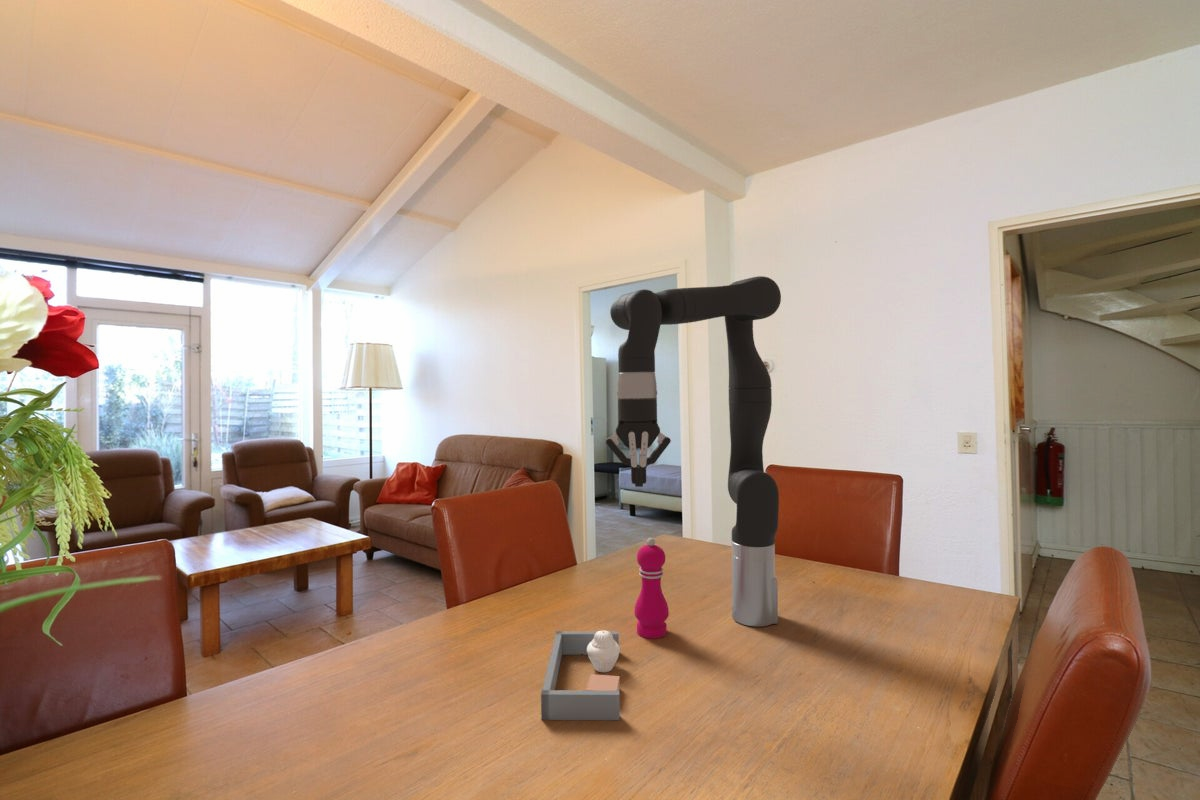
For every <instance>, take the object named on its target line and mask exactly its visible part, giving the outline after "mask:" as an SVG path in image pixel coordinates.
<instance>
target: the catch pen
mask: <svg viewBox="0 0 1200 800" xmlns="http://www.w3.org/2000/svg"><path fill="white" fill-rule="evenodd" d="M598 631H599V630H598ZM598 631H596V630H595V631H589V630H588V631H584V630H583V631H577V630H576V631H574V630H573V631H572V630H571V631H567V630H566V631H563V630H562V631H559V630H558V631H555V636H554V639H553V644H552V648H551V652H550V657H549V660H548V665H547V668H546V672H545V677H544V680H543V685H542V688H541V694H540V701H541V702H540V703H541V704H540V706H541V707H540V711H541V712H540V715H541V716H540V717H541V719H540V720H542V721H543V720H544V721H545V720H546V721H553V720H554V721H621V720H620V719H621V718H620V717H621V714H620V713H621V712H620V709H621V707H620V704H621V703H620V702H621V701H620V694H621V693H620V690H619V691H600V690H586V689H584V690H581V689H579V690H576V689H575V690H574V689H573V690H571V689H570V690H569V689H565V690H563V689H562V690H561V689H558V690H556V687H557V681H558V678H559V677H558V676H559V671H560V666H561V662H562V657H563V655H565V656H566V655H567V656H575V655H579V656H580V655H581V654H583V655H585V656H586V655H587V656H589V655H588V654H587V646H588V644H589V643H590V642H591V641H592V640H593V639H594V635H595V634H596V632H598ZM609 632H610V633H611V634H612V635H613V639H614V640H615V642H616V643H617V644H618V645H619V644H620V640H619V638H620V637H619V633H620V632H619V631H609ZM619 646H620V645H619ZM583 655H582V656H583Z"/></svg>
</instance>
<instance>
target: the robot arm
mask: <svg viewBox="0 0 1200 800" xmlns="http://www.w3.org/2000/svg"><path fill="white" fill-rule="evenodd" d="M781 301H782V295H781V290H780V287H779V285H778V284H777V282H776V281H774V280H773V279H772V278H770V277H768V276H761V275H760V276H753V277H749V278H744V279H741V280H737V281H734V282H732V283H730V284H727V285H721V286H717V285H716V286H700V287H682V288H671V289H670V288H667V289H665V290H661V291H657V292H653V291H652V290H650V289H639V290H636V291H631V292H628V293H625V294H621V295H619V296H618V297H616V298H615V300H614V301H613V302H612V303H611V306H610V310H609V311H610V312H609V313H610V318H611V320H612V322H613V324H614V325H615V326H617V327H618V328H620V329H622V330H625V331H628V335H627V339H626V340H625V341H623V342H622V343H621V344H620V345H619V347H618V351H617V352H618V355H617V356H618V364H617V365H618V376H617V377H618V378H617V392H616V394H617V395H616V396H617V426H616V428H615V433H614V434H612V435H611V436H609V437H606V439H605V444H606V445H607V447H609V448H610V450H611V451H612V452H613V453H614V455H615V456H616V457H617V458H618V460H619V461H620V462H621V463H622V464H623V465H627V466H629V467H630V475H631V476H630V479H631V483H632V485H634V487H638V488H640V487H641V488H643V487H644V484H646V483H647V467H648V466H650V465H653V464H656V462H657V461H658V460H659V458H660V457H661V455H662V454H663V453H664V451H665V450H666V449H667V447H668V446H669V445H670V444H671V442H672V440H671V438H670V437H668V436H666V435H665V434H664V433H662V432H661V427H660V426H659V423H658V397H657V396H658V389H657V388H658V387H657V380H656V379H657V378H656V355H655V354H656V353H655V351H656V346H657V342H658V340H659V338H658V337H659V333H660V330H661V329H660V328H661V325H665V326H667V325H668V326H669V325H670V326H671V325H681V324H682V325H683V324H689V323H696V322H702V321H705V320H706V321H707V320H711V319H716V318H721V317H724V323H725V332H726V339H727V357H728V358H727V359H728V363H727V364H728V408H729V409H728V410H729V414H728V415H729V435H730V436H729V437H730V453H729V454H730V455H729V456H730V457H729V467H728V475H727V476H728V478H727V491H728V493H729V497H730V499H731V500H732V502H733V503H734V504H736V521H735V525H733V527H732V529H731V617H732V619H733V620H734V621H735V622H737V623H738V624H741V625H744V626H748V627H758V628H759V627H767V626H770V625H773V624H779V618H778V617H779V613H778V612H779V605H778V604H779V600H778V599H779V597H778V595H779V593H778V592H779V591H778V590H779V589H778V588H779V587H778V586H779V584H778V583H779V582H778V578H777V577H776V574H775V573H776V572H775V571H776V566H775V565H776V562H775V561H776V559H775V558H776V557H775V556H776V554H775V553H776V550H775V549H776V545H775V544H776V543H775V541H776V535H777V532H778V527H779V513H780V512H779V510H780V494H779V493H780V492H779V488H778V484H777V482H776V480H775V479H774V477H772V476H771V475H770V474H769V473H766V472H765V470H764V469H765V468H764V459H763V458H764V457H763V449H764V445H763V444H764V439H765V435H766V432H767V428H768V425H769V422H770V418H771V413H772V407H773V405H772V401H773V400H772V399H773V398H772V379H771V375H770V373H769V370H768V369H767V366H766V365H765V362H763V361H764V360H762V358H761V356H760V354H759V352H758V350H757V348H756V345H755V338H754V321H757V320H763V319H766V318H769V317H770V316H773V315H774V314H775V313H776V312H777V311H778V309H779V307H780V305H781ZM618 439H619V440H620V441H621V442H622V444H623V445H624V446H625V448H627V449H628V450H629V451H628V452H629V457H627V456H626V455H625V453H624V452H623V451H622V450H621V448H620V447H619V446H618V445H619V443H620V442H619V440H618ZM656 439H657V441H656V443H657V446H656V447H655V449H654V450H653V451H652V453H651V454H650V455H649V456H648V449H649V448H650V447H651V446H652V445H653V443H654V442H655V440H656ZM637 449H639V457H637V455H638V454H637ZM647 456H648V457H647ZM638 458H639V459H638ZM638 460H639V461H638ZM638 462H639V466H638Z"/></svg>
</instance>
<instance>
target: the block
mask: <svg viewBox="0 0 1200 800" xmlns="http://www.w3.org/2000/svg"><path fill="white" fill-rule="evenodd" d="M620 678H621V676H620V675H619V676H618V675H608V674H592V673H591V674H590V676H589V678H588V682H587V685H586V688H585V690H600V691H619V692H620V683H621V682H620Z"/></svg>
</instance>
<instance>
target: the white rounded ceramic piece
mask: <svg viewBox="0 0 1200 800" xmlns="http://www.w3.org/2000/svg"><path fill="white" fill-rule="evenodd" d="M610 632H611V631H610V630H605V629H603V630H598V632H596V634H595V635H594V639H593V640H592V641H591V642H590V643H589V644H588V646H587V654H588V655H587V656H588V659H589V660H590V663H591V664H592V666H593V669H594V670H595V671H596V672H599V673H609V672H610V671H612V670H613V669H614V667H615V666H614V665H616V662H617V661H618V659H619V655H620V653H621V647H620V645H618V644H617V643H616V642H615V640H614V639H613V635H612V634H611V633H610Z"/></svg>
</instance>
